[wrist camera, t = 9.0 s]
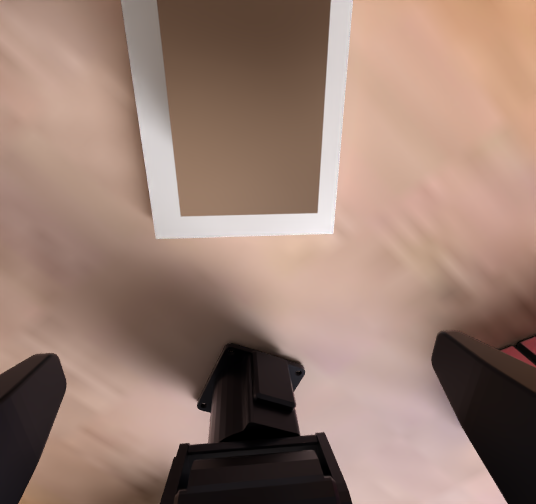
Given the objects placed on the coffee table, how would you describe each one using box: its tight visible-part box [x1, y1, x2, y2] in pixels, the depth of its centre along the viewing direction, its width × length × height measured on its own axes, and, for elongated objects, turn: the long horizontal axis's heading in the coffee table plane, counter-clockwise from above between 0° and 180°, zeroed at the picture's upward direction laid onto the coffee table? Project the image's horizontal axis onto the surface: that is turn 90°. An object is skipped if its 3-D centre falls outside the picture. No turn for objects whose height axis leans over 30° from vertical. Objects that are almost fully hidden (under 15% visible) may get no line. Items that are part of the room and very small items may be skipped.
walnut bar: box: [157, 0, 331, 217], centre depth 11 cm, size 10×4×8 cm, turn 0°
